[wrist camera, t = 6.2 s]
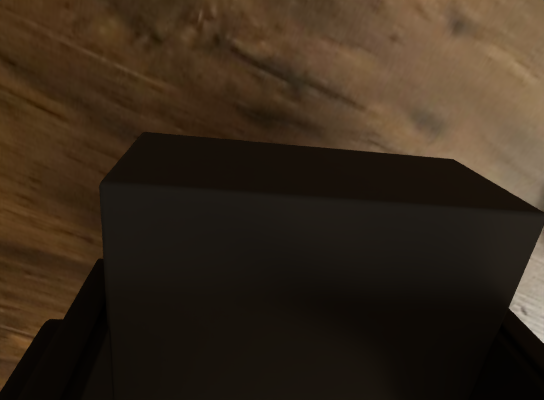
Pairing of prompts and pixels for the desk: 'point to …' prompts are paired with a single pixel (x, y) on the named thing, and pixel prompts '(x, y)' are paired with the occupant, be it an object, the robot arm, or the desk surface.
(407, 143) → the desk surface
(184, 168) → the black pad
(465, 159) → the desk surface
